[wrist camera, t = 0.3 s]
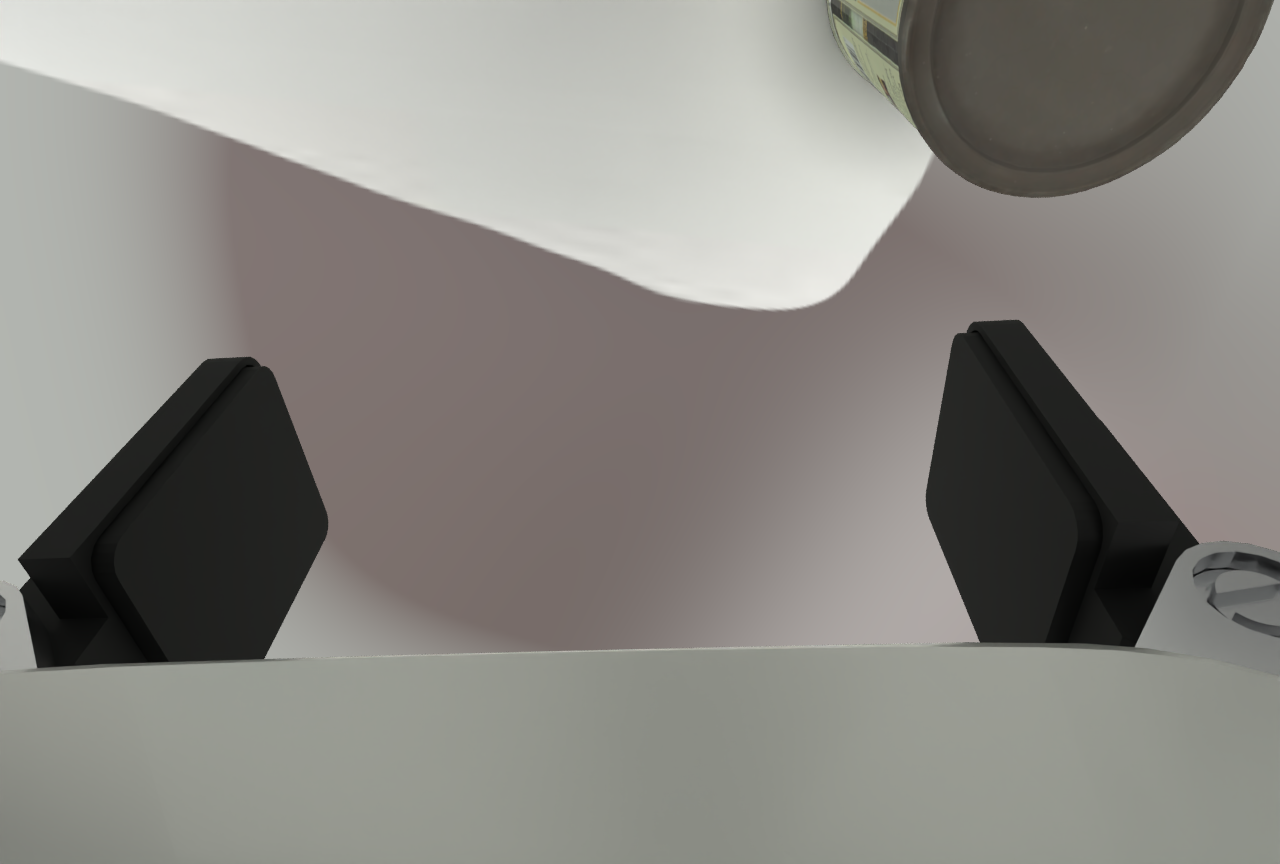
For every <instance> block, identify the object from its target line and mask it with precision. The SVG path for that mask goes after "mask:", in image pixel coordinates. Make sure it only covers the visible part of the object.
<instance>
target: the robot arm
mask: <svg viewBox="0 0 1280 864" xmlns="http://www.w3.org/2000/svg"><path fill="white" fill-rule="evenodd" d="M926 507H927V512H928V516H929V519H930V521H931V524H932V526H933V529H934V531H935V533H936V536H937V539H938V541H939V543H940V546H941V548H942V551H943V553H944V556H945V558H946V560H947V563H948V565H949V568H950V570H951V573H952V575H953V578H954V580H955V582H956V585H957V587H958V590H959V592H960V595H961V597H962V599H963V602H964V605H965V607H966V609H967V612H968V614H969V617H970V619H971V622H972V624H973V626H974V629H975V631H976V634H977V636H978V639H979V641H980V643H974V642H973V643H969V642H965V643H914V644H863V645H814V646H770V647H769V646H765V647H718V648H717V647H716V648H673V649H631V650H629V649H628V650H591V651H589V650H587V651H546V652H507V653H469V654H430V655H396V656H395V655H393V656H361V657H358V656H357V657H325V658H323V657H321V658H290V659H289V658H288V659H264V658H265V656H266V654H267V652H268V650H269V648H270V646H271V644H272V642H273V640H274V639H275V637H276V635H277V633H278V631H279V629H280V627H281V625H282V623H283V621H284V619H285V617H286V615H287V613H288V611H289V609H290V607H291V605H292V603H293V601H294V599H295V597H296V595H297V593H298V591H299V589H300V587H301V585H302V583H303V581H304V579H305V578H306V575H307V574H308V572H309V569H310V568H311V565H312V564H313V562H314V560H315V558H316V556H317V554H318V552H319V550H320V548H321V546H322V544H323V542H324V540H325V538H326V535H327V530H328V516H327V512H326V510H325V507H324V504H323V502H322V499H321V496H320V494H319V491H318V488H317V486H316V483H315V481H314V478H313V475H312V473H311V470H310V468H309V465H308V462H307V460H306V457H305V455H304V452H303V449H302V447H301V444H300V442H299V439H298V436H297V434H296V431H295V429H294V426H293V423H292V421H291V418H290V415H289V413H288V410H287V408H286V405H285V403H284V400H283V397H282V395H281V392H280V390H279V387H278V384H277V382H276V379H275V377H274V375H273V373H272V371H271V370H270V369H269V368H267V367H265V366H262V367H261V366H260V364H259V363H258V362H257V361H256V360H255V359H253V358H251V357H237V358H216V359H207V360H206V361H204V362H203V363H202V364H201V365H200V366H199V367H198V368H197V369H196V370H195V371H194V372H193V373H192V375H191V376H190V377H189V378H188V379H187V380H186V381H185V382H184V383H183V384H182V385H181V386H180V388H178V389H177V391H176V392H175V393H174V394H173V395H172V396H171V397H170V398H169V399H168V400H167V401H166V402H165V403H164V404H163V406H162V407H161V408H160V409H159V410H158V411H157V412H156V413H155V414H154V415H153V416H152V417H151V418H150V419H149V420H148V422H147V423H146V424H145V425H144V426H143V427H142V428H141V429H140V430H139V431H138V432H137V433H136V434H135V435H134V436H133V437H132V438H131V439H130V441H129V442H128V443H127V444H126V445H125V446H124V447H123V448H122V449H121V450H120V451H119V452H118V453H117V454H116V455H115V457H114V458H113V459H112V460H111V461H110V462H109V463H108V464H107V465H106V466H105V467H104V468H103V469H102V470H101V471H100V473H99V474H98V475H97V476H96V477H95V478H94V479H93V480H92V481H91V482H90V483H89V484H88V485H87V486H86V487H85V489H84V490H83V491H82V492H81V493H80V494H79V495H78V496H77V497H76V498H75V499H74V500H73V501H72V502H71V503H70V504H69V505H68V507H67V508H66V509H65V510H64V511H63V512H62V513H61V514H60V515H59V516H58V517H57V518H56V519H55V520H54V521H53V522H52V524H51V525H50V526H49V527H48V528H47V529H46V530H45V531H44V532H43V533H42V534H41V535H40V536H39V537H38V538H37V540H36V541H35V542H34V543H33V544H32V545H31V546H30V547H29V548H28V549H27V550H26V551H25V552H24V553H23V555H21V557H20V558H19V559H18V561H19V562H20V563H21V565H22V566H23V567H24V569H25V570H26V572H27V573H28V574H29V576H30V579H29V580H28V581H27V582H26V583H25V584H24V586H23V587H22V588H21V589H20V590H19V589H18V588H17V586H15V585H12V584H10V583H7V582H5V581H0V864H1280V552H1277V551H1274V550H1270V549H1267V548H1263V547H1259V546H1255V545H1252V544H1247V543H1238V542H1229V541H1220V542H1209V543H1201V544H1199V543H1198V542H1197V540H1196V539H1195V538H1194V537H1193V535H1192V534H1191V533H1190V532H1189V530H1188V529H1187V528H1186V527H1185V525H1184V524H1183V523H1182V521H1181V520H1180V519H1179V518H1178V516H1177V515H1176V514H1175V513H1174V511H1173V510H1172V509H1171V508H1170V507H1169V505H1168V504H1167V503H1166V501H1165V500H1164V499H1163V498H1162V496H1161V495H1160V494H1159V493H1158V491H1157V490H1156V489H1155V488H1154V486H1153V485H1152V484H1151V482H1150V481H1149V480H1148V479H1147V477H1146V476H1145V475H1144V474H1143V472H1142V471H1141V470H1140V469H1139V468H1138V466H1137V465H1136V464H1135V462H1134V461H1133V460H1132V459H1131V457H1130V456H1129V455H1128V454H1127V452H1126V451H1125V450H1124V449H1123V447H1122V446H1121V445H1120V444H1119V442H1118V441H1117V440H1116V439H1115V437H1114V436H1113V435H1112V433H1111V432H1110V431H1109V430H1108V428H1107V427H1106V426H1105V425H1104V423H1103V422H1102V421H1101V420H1100V419H1099V418H1098V417H1097V416H1096V415H1095V413H1094V412H1093V411H1092V410H1091V409H1090V407H1089V406H1088V405H1087V403H1086V402H1085V401H1084V400H1083V398H1082V397H1081V396H1080V394H1079V393H1078V392H1077V391H1076V390H1075V388H1074V387H1073V386H1072V384H1071V383H1070V382H1069V381H1068V379H1067V378H1066V377H1065V376H1064V374H1063V373H1062V372H1061V371H1060V369H1059V368H1058V367H1057V366H1056V364H1055V363H1054V362H1053V361H1052V359H1051V358H1050V357H1049V355H1048V354H1047V353H1046V352H1045V350H1044V349H1043V348H1042V347H1041V345H1040V344H1039V343H1038V342H1037V340H1036V339H1035V338H1034V337H1033V335H1032V334H1031V333H1030V332H1029V330H1028V329H1027V328H1026V326H1025V325H1024V324H1023V323H1022V322H1021V321H1019V320H1003V321H982V322H973V323H972V324H971V325H970V326H969V328H968V330H967V333H958V334H957V335H956V336H955V337H954V339H953V343H952V347H951V353H950V359H949V365H948V370H947V376H946V382H945V387H944V393H943V398H942V404H941V410H940V416H939V421H938V427H937V433H936V439H935V444H934V450H933V455H932V461H931V467H930V472H929V478H928V484H927V490H926Z"/></svg>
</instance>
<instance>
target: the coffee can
mask: <svg viewBox="0 0 1280 864" xmlns="http://www.w3.org/2000/svg"><path fill="white" fill-rule="evenodd" d="M1273 1H1274V0H827V7H828V15H829V20H830V25H831V28H832V31H833V36H834V37H835V39H836V41H837V44H838V46H839V48H840V50H841V51H842V53H843V55H844V56H845V58H846V59H847V61H848V62H849V63H850V65H851V66H852V67H853V68H854V69H855V70H856V71H857V72H858V73H859V74H860V75H861V76H862V77H863V78H864V79H866V80H867V81H868V82H870V83H871V84H872V85H873V86H874V87H875V88H876V89H877V90H878V91H879V92H880V93H881V94H882V95H884V96H885V97H886V98H887V99H888V100H889V101H890V102H891V103H892V104H893V105H894V106H895V107H896V108H897V109H898V110H899V111H900V112H901V113H902V114H903V115H904V116H905V118H906V119H907V120H908V121H909V122H910V123H911V124H912V125H913V126H914V127H915V128H917V129H918V131H919V133H920V135H921V136H922V137H923V139H924V140H925V142H926V143H927V144H928V146H929V147H930V149H931V150H932V151H933V152H934V154H935V155H936V156H937V157H938V158H939V159H940V160H941V161H942V162H943V163H944V164H945V165H946V166H947V167H949V168H950V169H951V170H953V171H954V172H955V173H956V174H958V175H959V176H961V177H962V178H964V179H965V180H967V181H969V182H971V183H973V184H975V185H977V186H979V187H981V188H984V189H987V190H990V191H994V192H997V193H1001V194H1006V195H1012V196H1019V197H1031V198H1036V197H1037V198H1039V197H1040V198H1041V197H1056V196H1064V195H1069V194H1074V193H1078V192H1082V191H1086V190H1089V189H1092V188H1094V187H1098V186H1101V185H1103V184H1106V183H1109V182H1111V181H1113V180H1115V179H1118V178H1120V177H1122V176H1124V175H1126V174H1128V173H1130V172H1132V171H1134V170H1136V169H1137V168H1139V167H1141V166H1143V165H1144V164H1146V163H1148V162H1150V161H1151V160H1153V159H1154V158H1155V157H1157V156H1159V155H1160V154H1162V153H1163V152H1165V151H1166V150H1167V149H1169V148H1170V147H1171V146H1173V145H1174V144H1175V143H1177V142H1178V141H1179V140H1180V139H1181V138H1182V137H1183V136H1185V135H1186V134H1187V133H1188V132H1189V131H1191V130H1192V129H1193V128H1194V126H1195V125H1197V124H1198V123H1199V122H1200V121H1201V120H1202V119H1203V118H1204V116H1206V114H1207V113H1208V112H1209V111H1210V110H1211V109H1212V107H1213V106H1214V105H1215V104H1216V103H1217V102H1218V101H1219V100H1220V98H1221V97H1222V96H1223V94H1224V93H1225V92H1226V90H1227V89H1228V88H1229V86H1230V85H1231V84H1232V82H1233V81H1234V79H1235V78H1236V77H1237V75H1238V74H1239V72H1240V71H1241V69H1242V68H1243V66H1244V64H1245V62H1246V60H1247V58H1248V57H1249V55H1250V54H1251V52H1252V50H1253V49H1254V47H1255V45H1256V43H1257V41H1258V39H1259V37H1260V35H1261V33H1262V30H1263V28H1264V25H1265V23H1266V20H1267V18H1268V15H1269V13H1270V10H1271V7H1272V4H1273Z"/></svg>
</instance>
